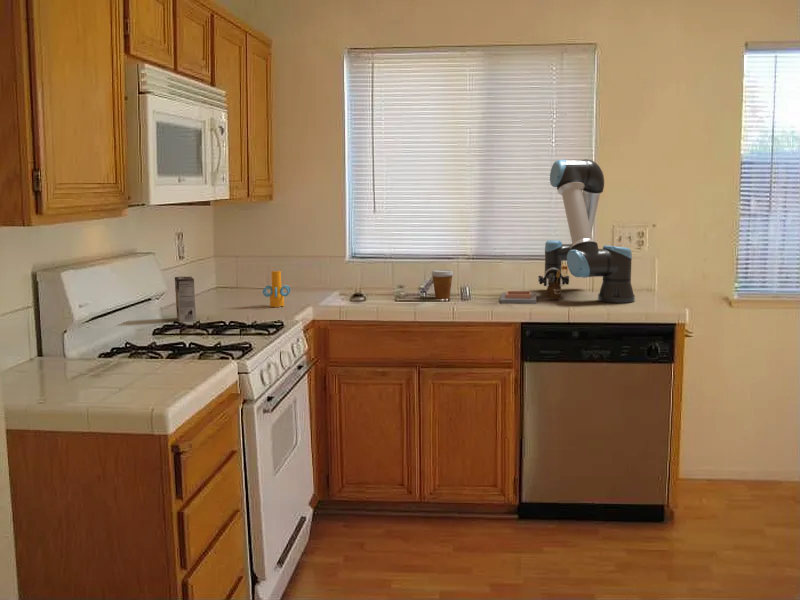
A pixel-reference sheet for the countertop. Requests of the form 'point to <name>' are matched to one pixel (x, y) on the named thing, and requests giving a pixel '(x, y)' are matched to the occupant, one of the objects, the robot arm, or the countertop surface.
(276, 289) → the cylinder
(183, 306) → the coffee box
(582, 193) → the robot arm
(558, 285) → the utensil holder
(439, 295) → the disposable coffee cup
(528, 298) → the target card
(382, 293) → the countertop surface
